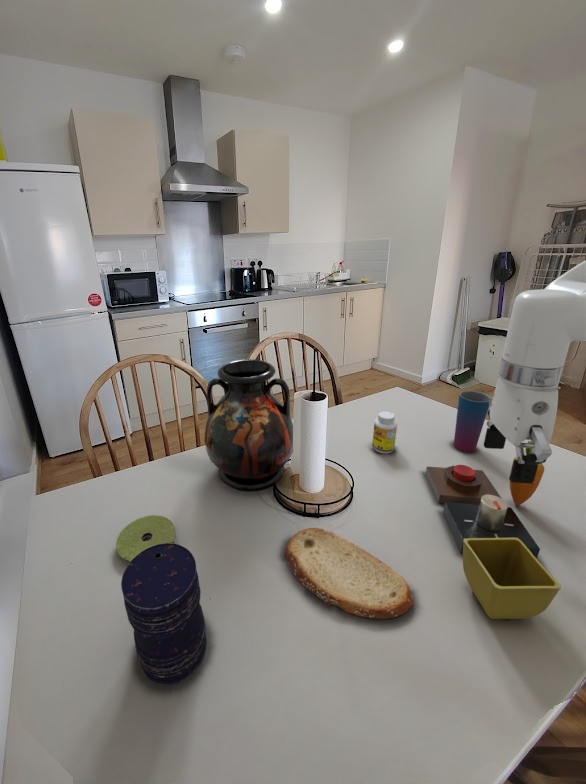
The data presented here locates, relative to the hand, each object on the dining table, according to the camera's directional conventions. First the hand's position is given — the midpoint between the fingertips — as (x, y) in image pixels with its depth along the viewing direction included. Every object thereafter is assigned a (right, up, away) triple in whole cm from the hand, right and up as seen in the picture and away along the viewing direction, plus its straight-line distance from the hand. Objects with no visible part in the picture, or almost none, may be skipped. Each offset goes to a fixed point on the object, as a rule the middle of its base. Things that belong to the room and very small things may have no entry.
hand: (505, 463), depth 61 cm
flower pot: (-6, -21, -6) cm, 22 cm away
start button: (+3, -7, +17) cm, 18 cm away
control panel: (0, -15, +6) cm, 16 cm away
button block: (+3, -10, +18) cm, 21 cm away
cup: (+13, -4, +33) cm, 36 cm away
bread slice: (-28, -19, 0) cm, 34 cm away
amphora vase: (-44, -9, +27) cm, 52 cm away
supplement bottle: (-8, -5, +34) cm, 36 cm away
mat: (-64, -18, +8) cm, 67 cm away
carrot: (+12, -12, +13) cm, 21 cm away
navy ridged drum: (-56, -25, -9) cm, 62 cm away
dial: (0, -12, +5) cm, 13 cm away
